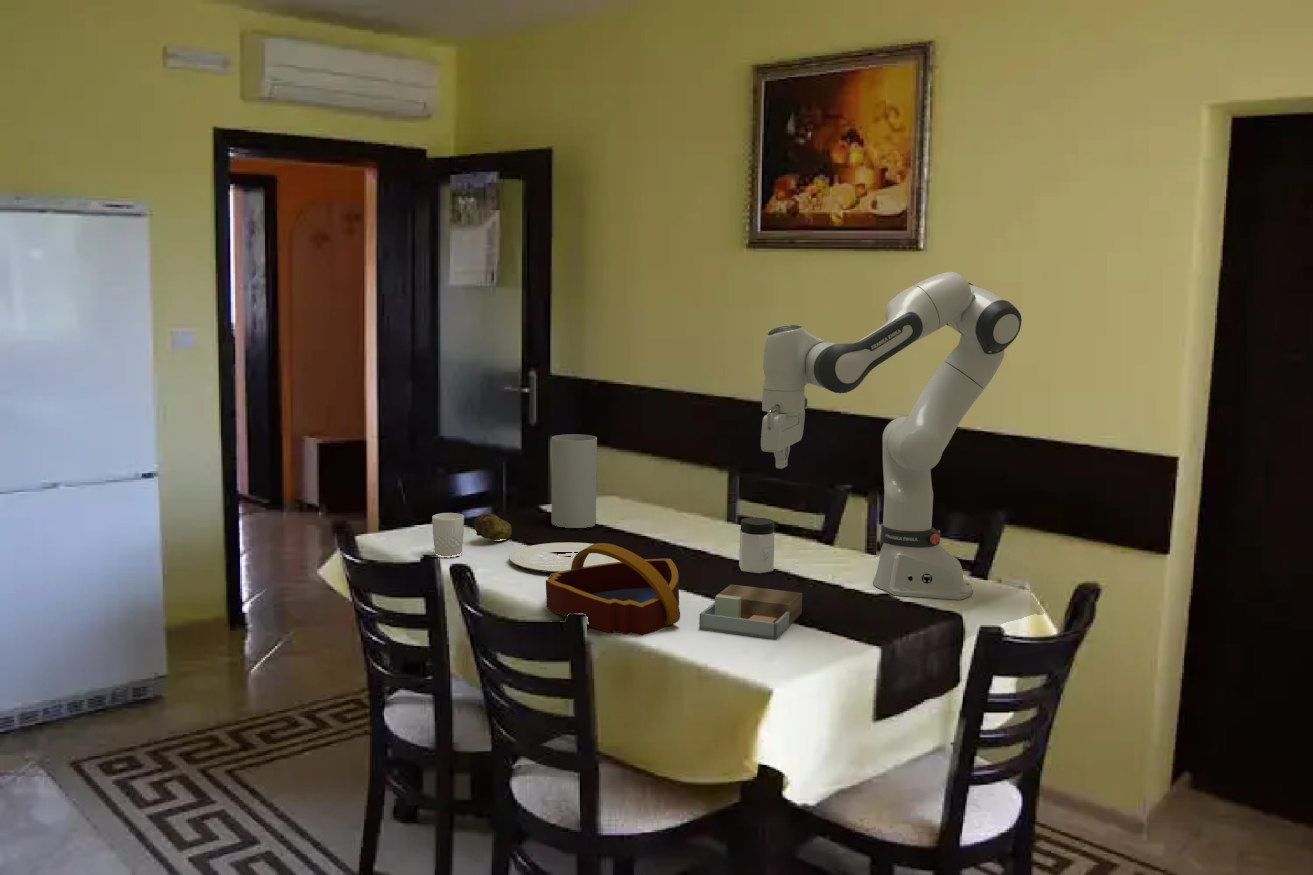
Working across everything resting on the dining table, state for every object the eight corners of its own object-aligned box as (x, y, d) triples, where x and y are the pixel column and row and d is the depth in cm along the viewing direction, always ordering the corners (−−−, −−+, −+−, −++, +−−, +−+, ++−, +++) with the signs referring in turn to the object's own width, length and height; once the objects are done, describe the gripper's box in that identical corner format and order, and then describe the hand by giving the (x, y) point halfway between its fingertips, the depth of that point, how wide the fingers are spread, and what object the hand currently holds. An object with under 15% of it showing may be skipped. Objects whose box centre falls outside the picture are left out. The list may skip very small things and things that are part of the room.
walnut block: (801, 613, 252) (802, 593, 252) (788, 626, 243) (789, 605, 243) (730, 604, 258) (730, 584, 258) (715, 616, 249) (715, 595, 248)
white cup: (426, 556, 295) (425, 517, 293) (443, 550, 302) (443, 511, 301) (453, 560, 292) (453, 520, 290) (470, 553, 299) (470, 514, 298)
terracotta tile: (769, 624, 235) (769, 634, 236) (776, 617, 240) (776, 627, 240) (745, 621, 237) (745, 630, 238) (753, 614, 242) (752, 624, 242)
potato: (523, 540, 314) (523, 510, 313) (484, 548, 305) (484, 517, 304) (504, 535, 320) (504, 506, 319) (465, 542, 311) (465, 512, 310)
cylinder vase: (599, 529, 329) (600, 440, 325) (554, 530, 326) (555, 441, 323) (592, 520, 341) (593, 434, 337) (548, 521, 338) (549, 434, 335)
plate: (651, 563, 293) (652, 556, 293) (564, 585, 272) (564, 577, 272) (571, 543, 313) (571, 536, 313) (484, 562, 292) (484, 554, 291)
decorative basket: (523, 612, 258) (515, 547, 254) (632, 574, 274) (626, 513, 270) (610, 657, 231) (601, 585, 227) (725, 612, 247) (719, 545, 243)
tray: (788, 626, 243) (789, 611, 242) (776, 639, 234) (776, 624, 234) (714, 616, 249) (714, 602, 248) (699, 629, 240) (699, 613, 240)
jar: (751, 575, 283) (753, 525, 282) (731, 567, 290) (732, 519, 288) (781, 570, 288) (782, 522, 286) (760, 563, 295) (761, 515, 293)
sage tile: (741, 597, 244) (738, 599, 242) (740, 620, 244) (737, 623, 243) (718, 594, 246) (715, 596, 244) (717, 617, 246) (714, 620, 244)
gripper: (784, 408, 239) (782, 476, 241) (809, 398, 258) (808, 461, 260) (754, 407, 242) (752, 473, 244) (781, 397, 260) (780, 459, 262)
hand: (781, 467), depth 252 cm, fingers closed
